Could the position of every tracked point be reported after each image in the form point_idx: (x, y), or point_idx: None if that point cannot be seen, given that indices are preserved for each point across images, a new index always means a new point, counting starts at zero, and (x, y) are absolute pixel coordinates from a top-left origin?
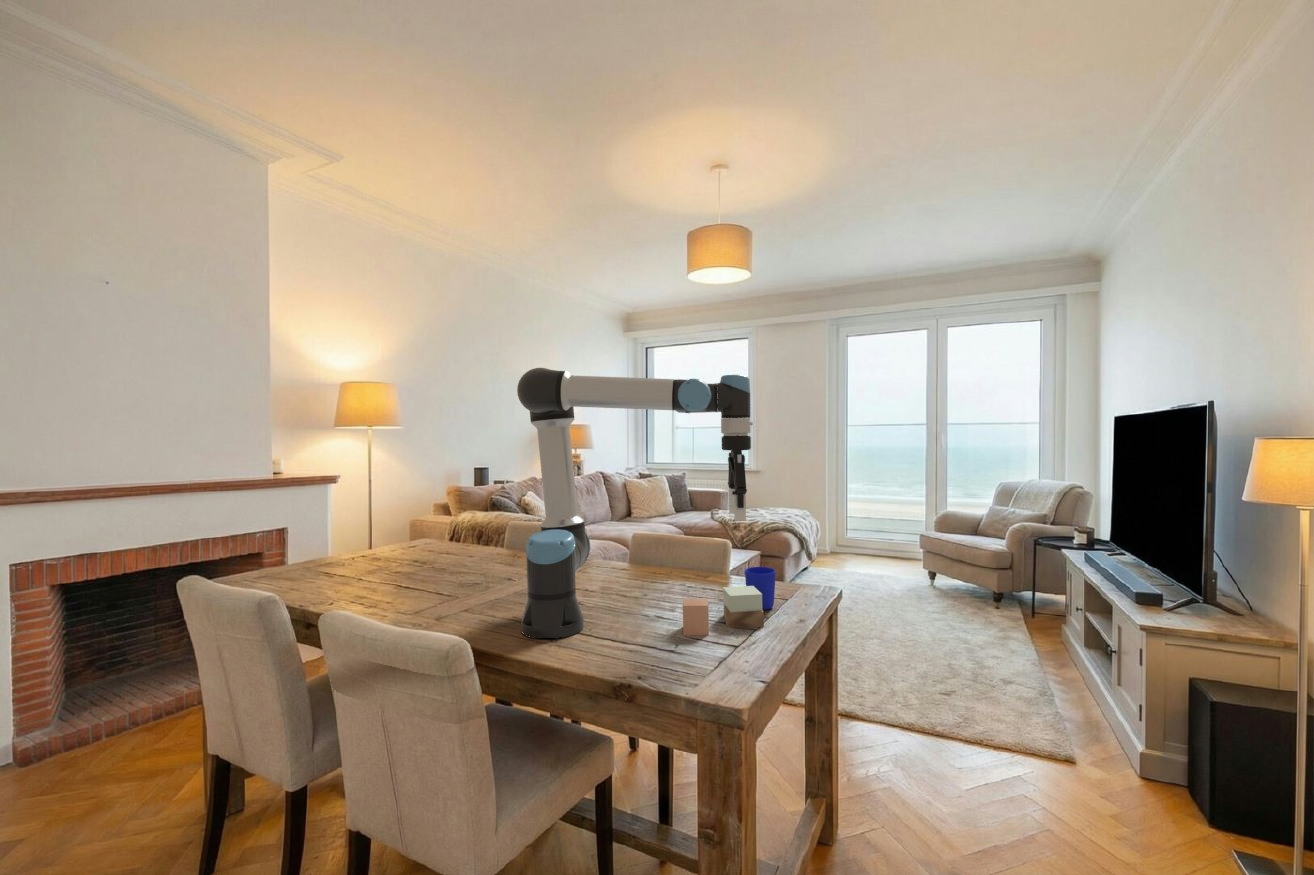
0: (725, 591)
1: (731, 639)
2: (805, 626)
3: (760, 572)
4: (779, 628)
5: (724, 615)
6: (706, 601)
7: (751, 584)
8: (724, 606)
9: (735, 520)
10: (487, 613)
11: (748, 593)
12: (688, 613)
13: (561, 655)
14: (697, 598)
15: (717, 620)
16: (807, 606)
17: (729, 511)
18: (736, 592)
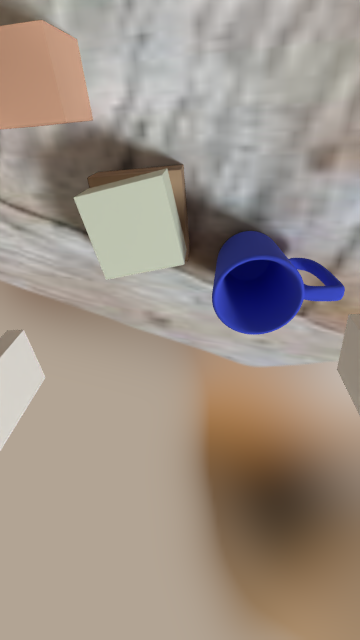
0: (127, 183)
1: (24, 183)
2: (129, 322)
3: (291, 294)
4: (110, 280)
5: (164, 166)
6: (32, 121)
7: (224, 259)
8: (153, 171)
9: (7, 335)
10: None
11: (106, 248)
12: None
13: None
14: (55, 85)
15: (142, 146)
16: (247, 342)
17: (354, 321)
18: (110, 216)
